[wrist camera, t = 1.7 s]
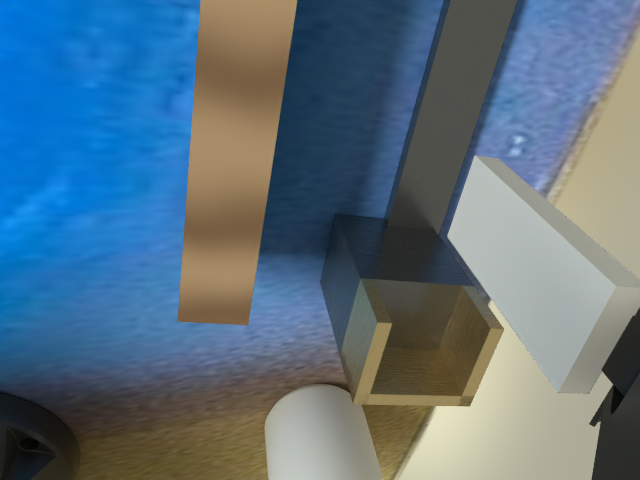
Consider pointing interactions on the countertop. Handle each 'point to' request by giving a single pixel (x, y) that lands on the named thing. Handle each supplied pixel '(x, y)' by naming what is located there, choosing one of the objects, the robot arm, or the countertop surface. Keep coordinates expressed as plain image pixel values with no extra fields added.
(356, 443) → the alcohol
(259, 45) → the rail
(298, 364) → the countertop surface
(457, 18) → the bracket stand
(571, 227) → the robot arm
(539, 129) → the countertop surface
